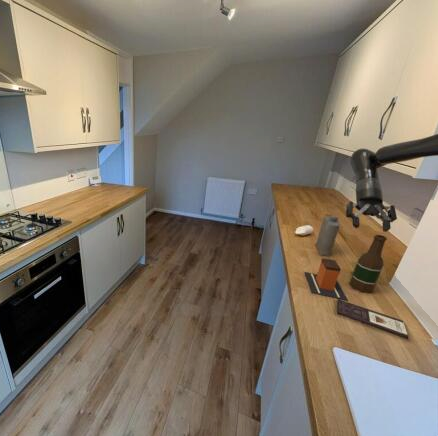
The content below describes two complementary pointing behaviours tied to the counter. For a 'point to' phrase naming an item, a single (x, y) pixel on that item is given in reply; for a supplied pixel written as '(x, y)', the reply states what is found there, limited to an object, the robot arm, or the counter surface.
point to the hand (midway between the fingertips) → (371, 229)
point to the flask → (327, 235)
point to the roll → (304, 230)
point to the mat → (316, 289)
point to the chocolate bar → (372, 318)
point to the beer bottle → (369, 267)
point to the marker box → (328, 274)
